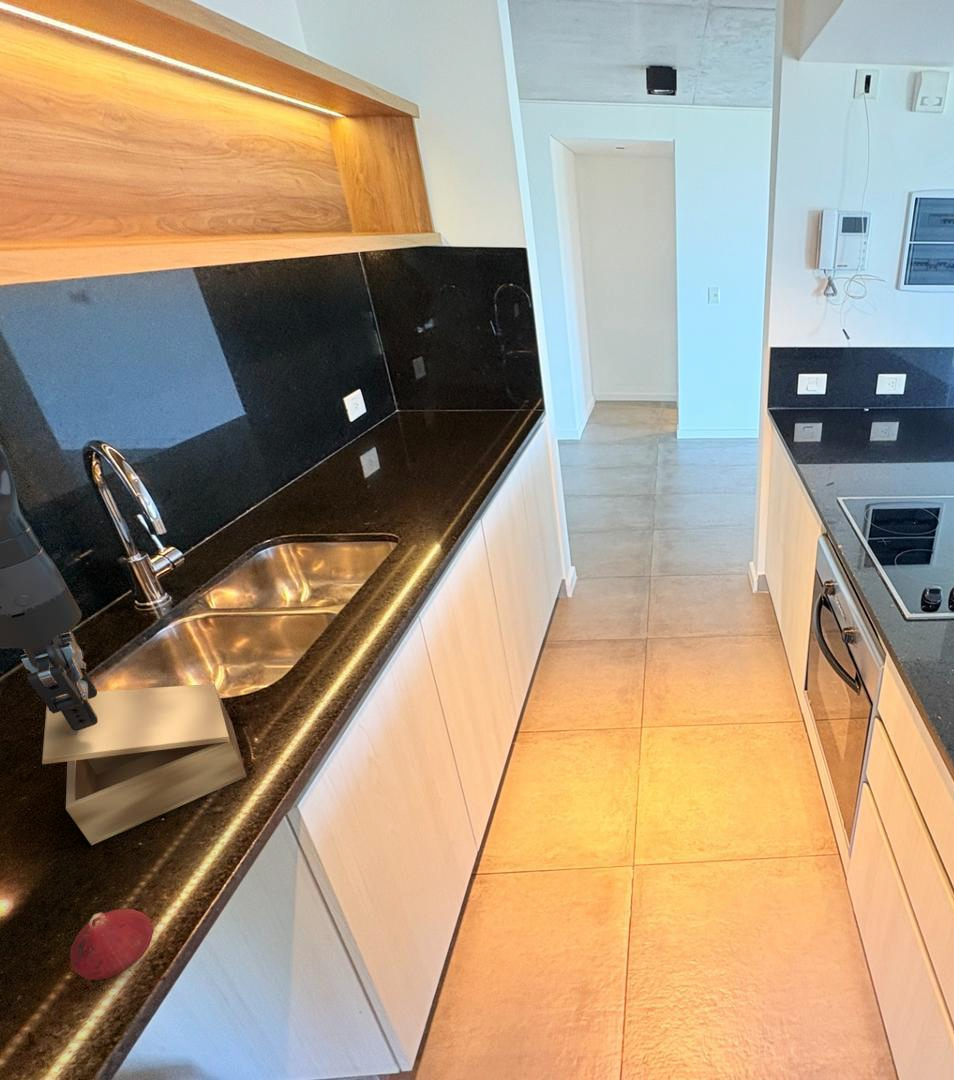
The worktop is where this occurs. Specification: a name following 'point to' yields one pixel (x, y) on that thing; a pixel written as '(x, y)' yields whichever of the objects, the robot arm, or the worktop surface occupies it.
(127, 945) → the onion
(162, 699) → the lid
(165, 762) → the breadbox
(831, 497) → the worktop surface
